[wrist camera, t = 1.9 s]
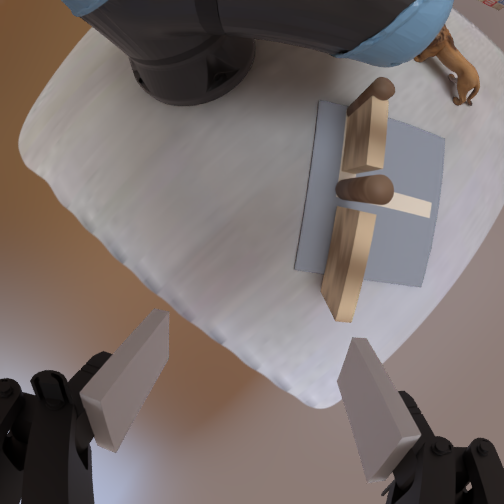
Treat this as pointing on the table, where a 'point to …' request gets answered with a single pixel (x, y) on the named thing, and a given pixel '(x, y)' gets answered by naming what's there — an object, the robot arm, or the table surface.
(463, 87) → the lion figurine
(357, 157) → the fence post and fixed section
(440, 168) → the card
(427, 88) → the table surface
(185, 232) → the table surface
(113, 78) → the table surface
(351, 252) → the hinged fence panel
